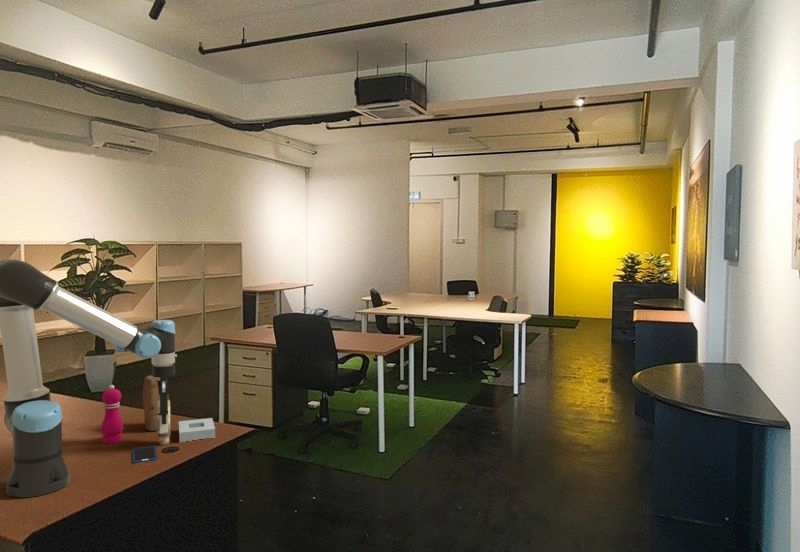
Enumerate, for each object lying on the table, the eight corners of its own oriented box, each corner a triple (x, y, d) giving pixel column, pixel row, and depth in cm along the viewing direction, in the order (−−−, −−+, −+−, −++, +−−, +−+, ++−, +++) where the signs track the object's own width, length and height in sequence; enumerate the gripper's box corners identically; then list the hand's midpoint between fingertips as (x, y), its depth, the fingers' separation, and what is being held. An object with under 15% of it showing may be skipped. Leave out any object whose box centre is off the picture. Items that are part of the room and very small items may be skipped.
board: (179, 442, 194) (179, 432, 194) (178, 430, 207) (178, 421, 207) (215, 438, 199) (215, 428, 199) (212, 426, 212) (212, 417, 212)
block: (170, 429, 209) (169, 377, 208) (149, 433, 204) (148, 379, 203) (161, 422, 217) (161, 372, 216) (141, 425, 212) (140, 374, 211)
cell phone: (132, 464, 175) (132, 462, 175) (132, 450, 187) (132, 448, 187) (157, 461, 178) (157, 458, 178) (155, 447, 191) (155, 445, 191)
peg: (157, 446, 191) (157, 403, 190) (157, 442, 194) (157, 400, 194) (170, 444, 192) (170, 402, 192) (170, 440, 196) (170, 399, 195)
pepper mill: (113, 444, 192) (113, 387, 191) (95, 443, 193) (95, 386, 192) (128, 437, 199) (127, 383, 198) (110, 436, 200) (109, 381, 199)
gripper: (175, 368, 186) (176, 436, 187) (174, 359, 201) (175, 422, 203) (151, 370, 183) (151, 439, 184) (152, 360, 199) (152, 424, 200)
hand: (164, 430), depth 193 cm, fingers open, 4 cm apart
